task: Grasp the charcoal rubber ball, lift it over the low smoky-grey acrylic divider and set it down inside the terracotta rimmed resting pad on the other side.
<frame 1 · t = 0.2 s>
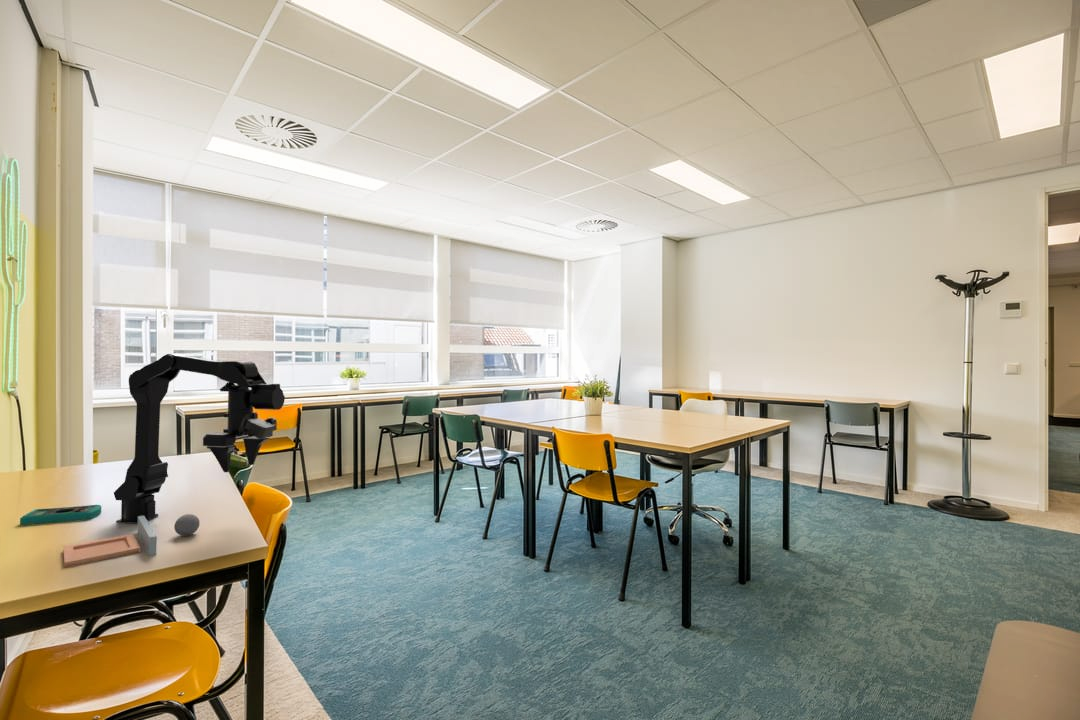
hand: (239, 468, 131), 14 cm above the table, fingers open, 9 cm apart
digital multimeter: (62, 521, 132), on the table
rubber ball: (187, 524, 121), point 2 cm above the table
acrylic divider: (146, 543, 115), on the table
resting pad: (101, 551, 110), on the table
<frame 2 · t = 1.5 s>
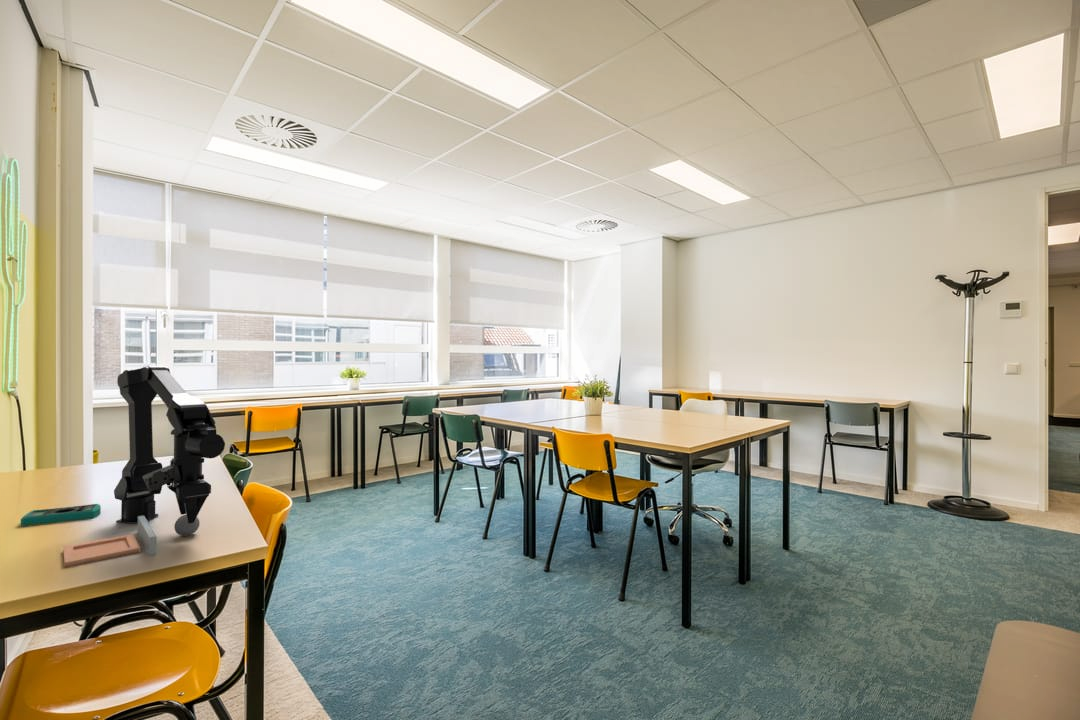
hand: (187, 518, 121), 4 cm above the table, fingers open, 9 cm apart
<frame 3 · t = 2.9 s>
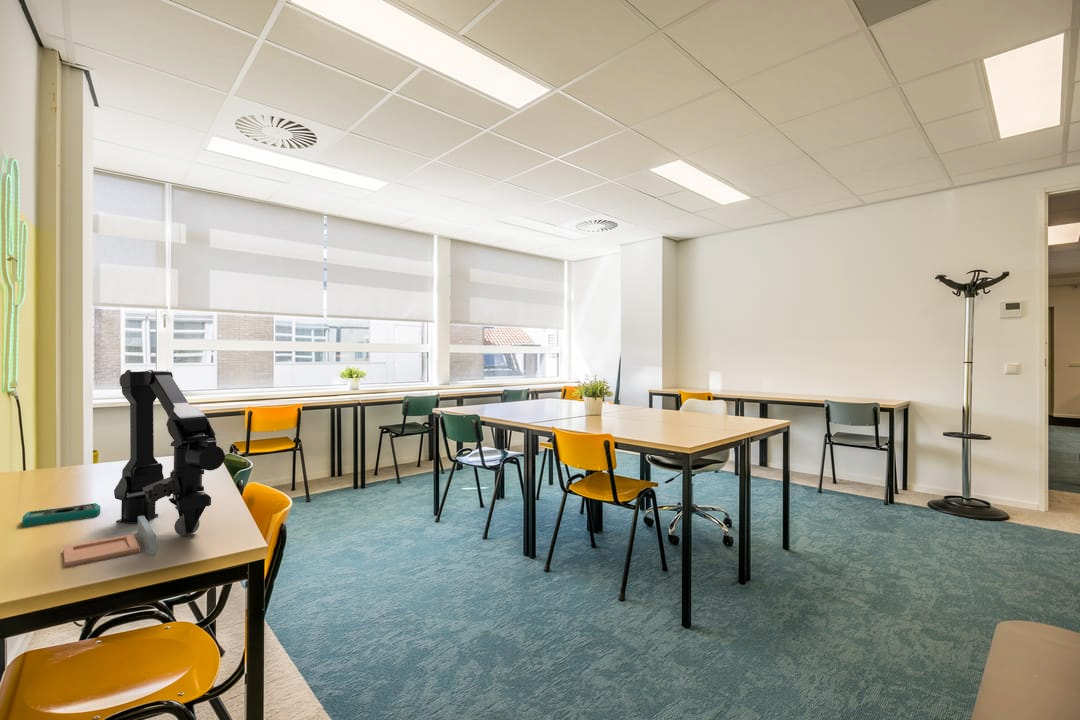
hand: (187, 530, 121), 1 cm above the table, fingers closed on rubber ball, 5 cm apart
rubber ball: (187, 524, 121), point 2 cm above the table, touching gripper
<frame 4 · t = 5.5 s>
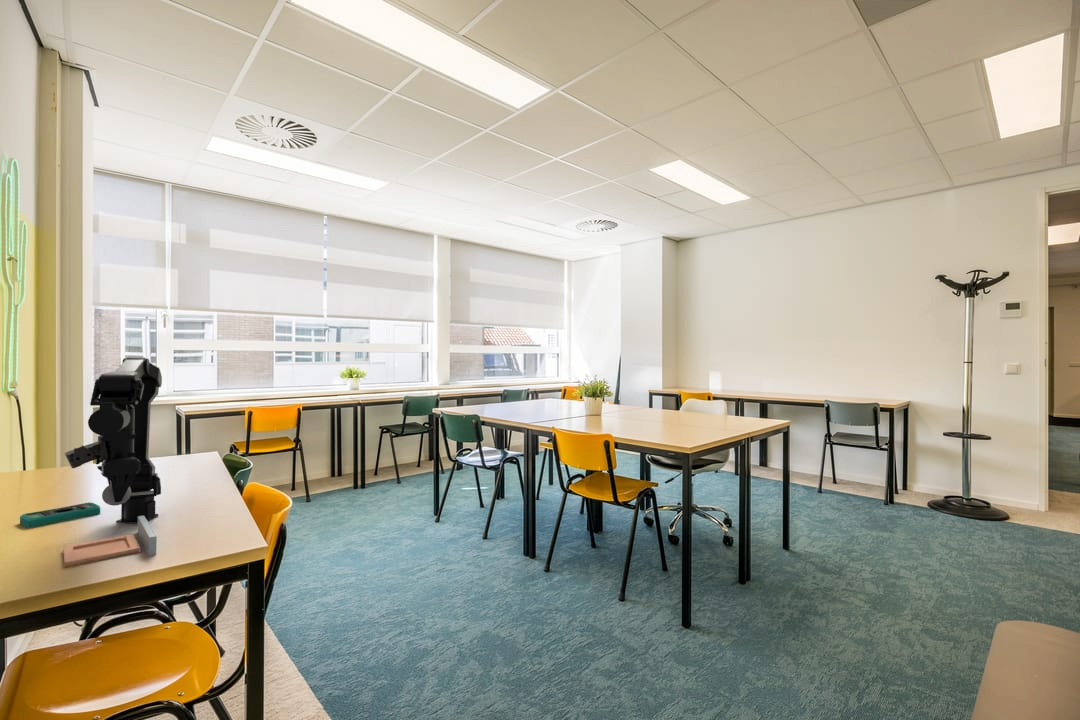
hand: (116, 499, 111), 11 cm above the table, fingers closed on rubber ball, 5 cm apart
rubber ball: (116, 493, 111), point 12 cm above the table, touching gripper
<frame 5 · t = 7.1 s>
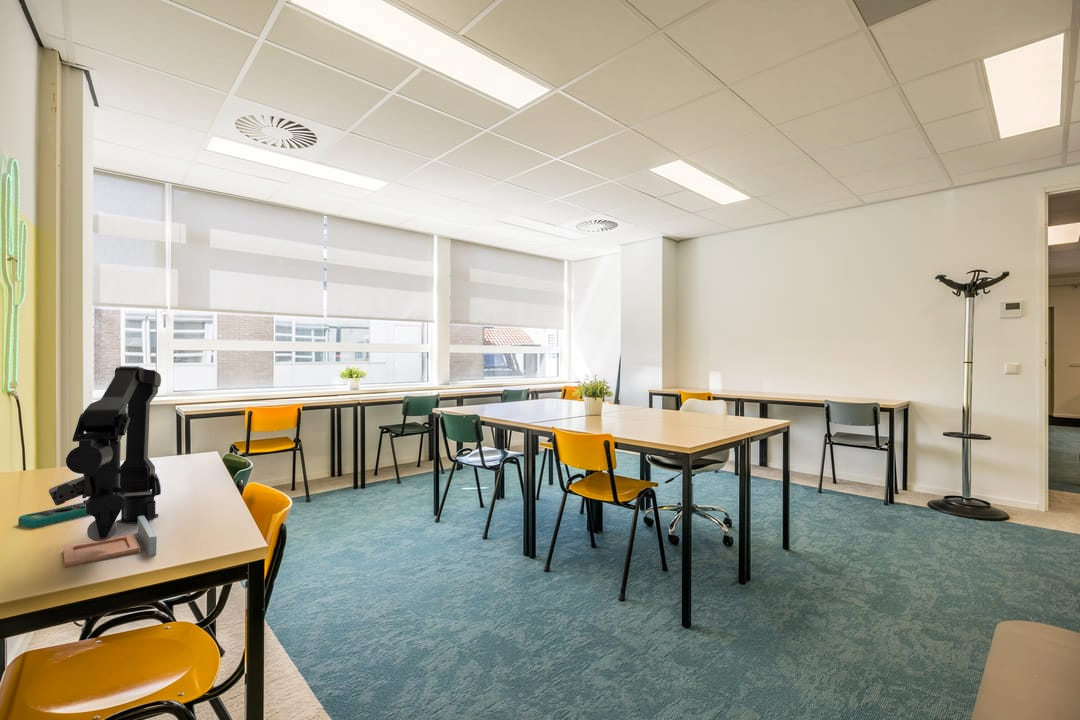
hand: (102, 535, 110), 4 cm above the table, fingers closed on rubber ball, 5 cm apart
rubber ball: (102, 529, 110), point 5 cm above the table, touching gripper
when the fingers open (2 cm above the table, at t = 8.2 s): rubber ball stays where it is, resting on resting pad.
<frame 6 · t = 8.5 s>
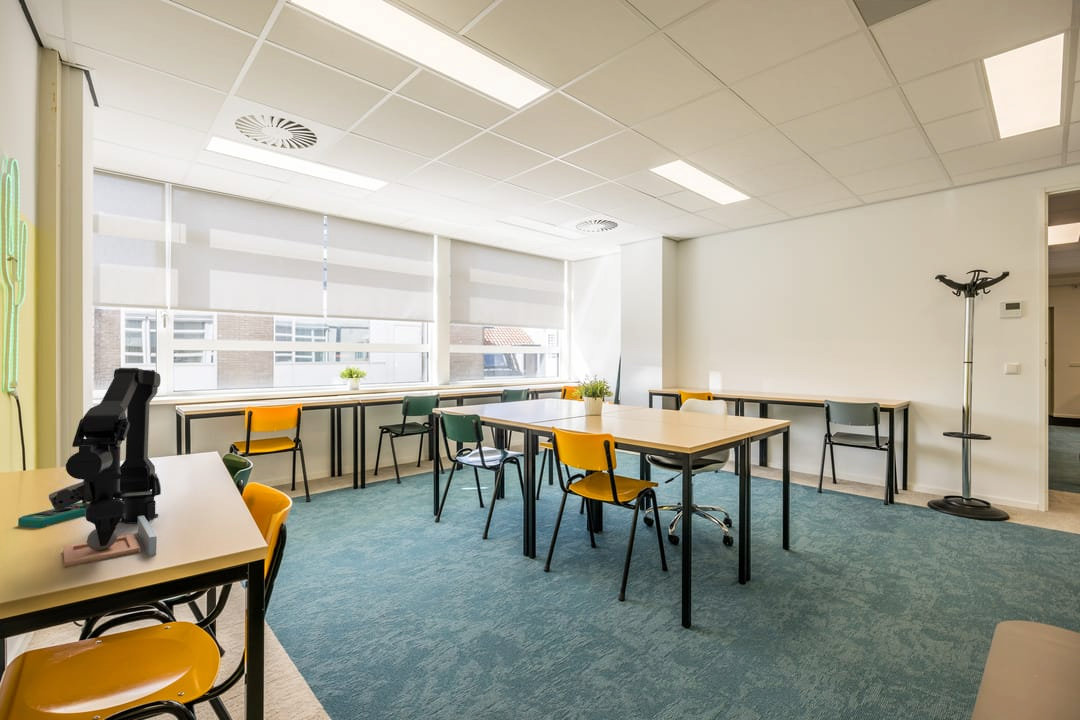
hand: (102, 540, 110), 2 cm above the table, fingers open, 9 cm apart
rubber ball: (102, 538, 110), point 3 cm above the table, touching resting pad
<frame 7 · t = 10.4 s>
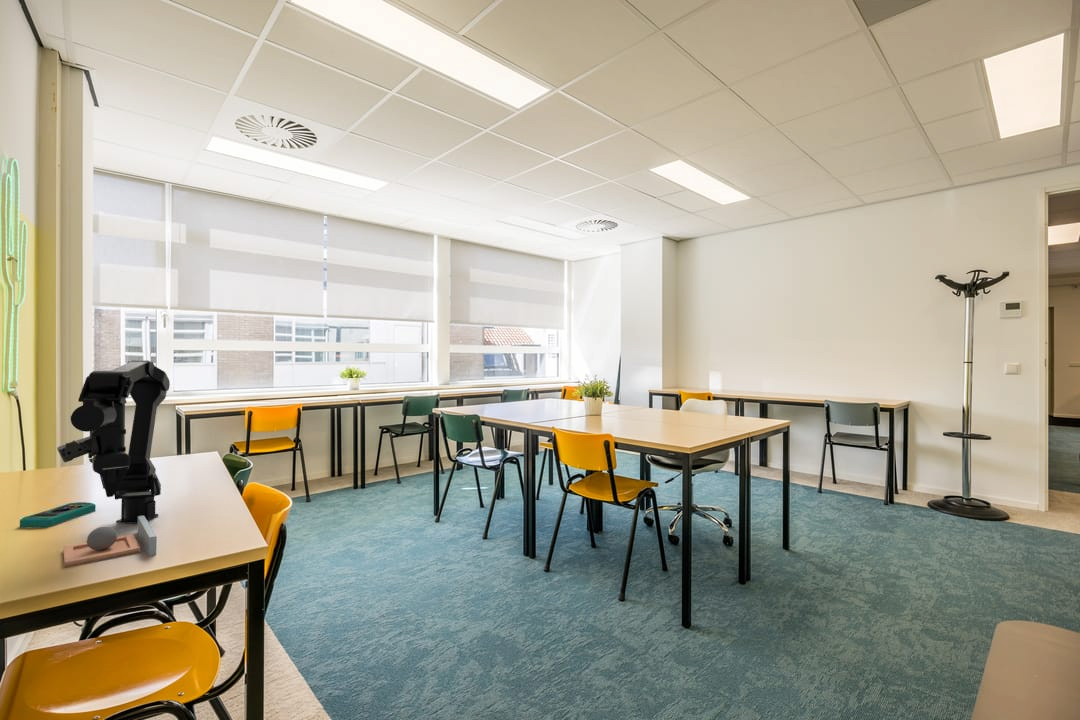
hand: (108, 492, 115), 12 cm above the table, fingers open, 9 cm apart
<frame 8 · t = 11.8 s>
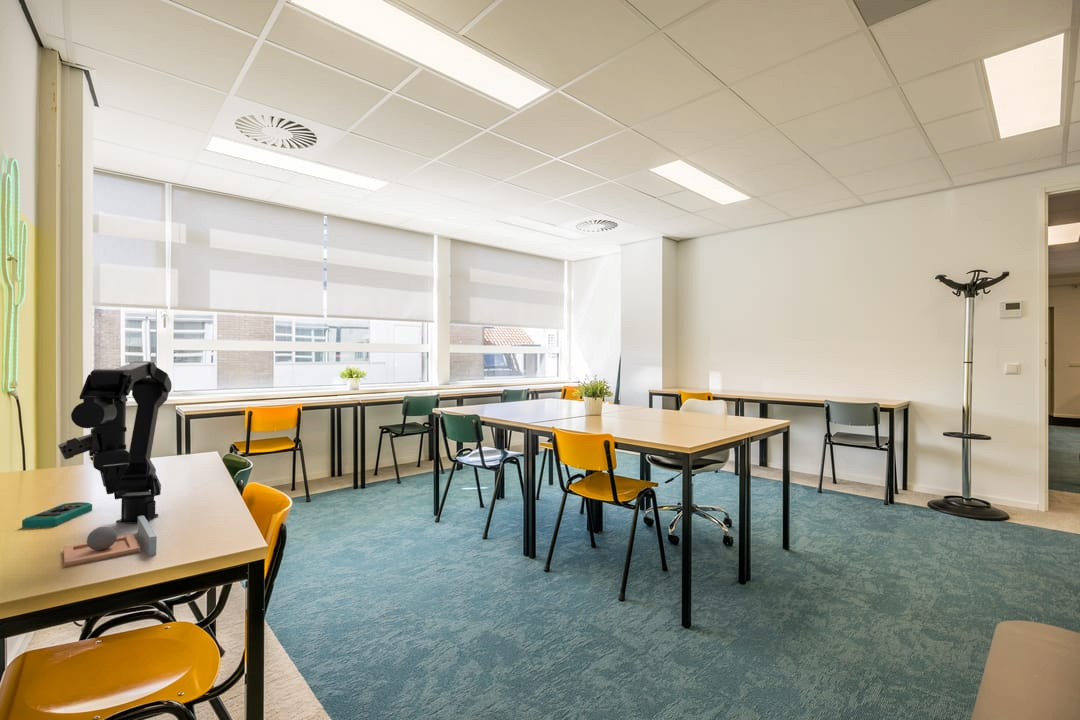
hand: (108, 490, 116), 12 cm above the table, fingers open, 9 cm apart
at the end: rubber ball 0.1 cm off-centre on the resting pad, point 2.9 cm above the resting pad's base; the gripper is holding nothing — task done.
